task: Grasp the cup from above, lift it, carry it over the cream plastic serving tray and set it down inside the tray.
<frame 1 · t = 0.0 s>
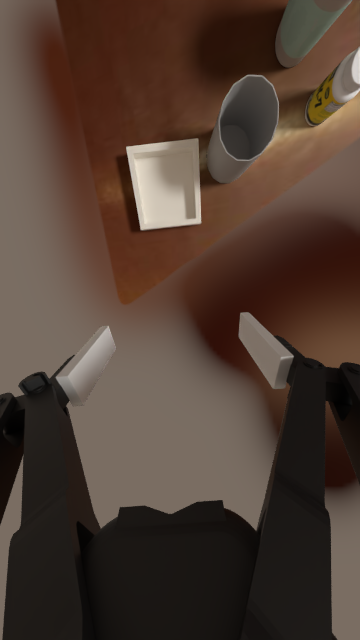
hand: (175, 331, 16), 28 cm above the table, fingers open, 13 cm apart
coffee cup: (292, 40, 25), on the table
supplement bottle: (316, 109, 29), on the table
cup: (227, 156, 31), on the table
tray: (167, 192, 33), on the table
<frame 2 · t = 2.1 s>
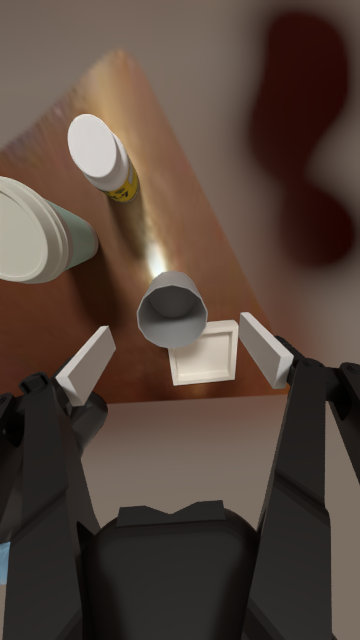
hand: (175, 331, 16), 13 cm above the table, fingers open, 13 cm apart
coffee cup: (79, 239, 24), on the table
supplement bottle: (121, 182, 21), on the table
cup: (172, 294, 28), on the table
tray: (201, 350, 33), on the table
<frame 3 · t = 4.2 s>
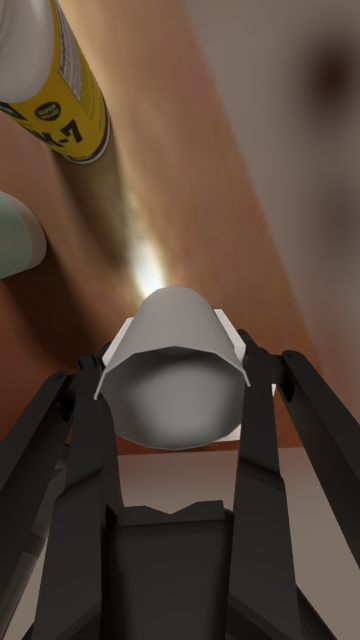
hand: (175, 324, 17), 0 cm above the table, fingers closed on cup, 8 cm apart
coffee cup: (12, 233, 14), on the table
supplement bottle: (77, 121, 11), on the table
cup: (175, 322, 18), on the table, touching gripper
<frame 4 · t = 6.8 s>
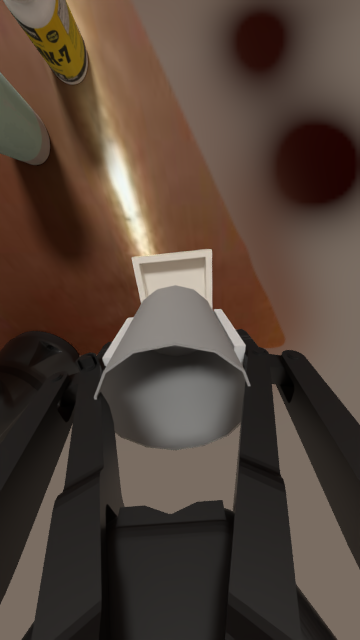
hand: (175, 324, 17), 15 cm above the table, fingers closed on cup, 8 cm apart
coffee cup: (28, 137, 21), on the table
supplement bottle: (68, 57, 18), on the table
cup: (175, 322, 18), point 14 cm above the table, touching gripper
tray: (175, 289, 31), on the table
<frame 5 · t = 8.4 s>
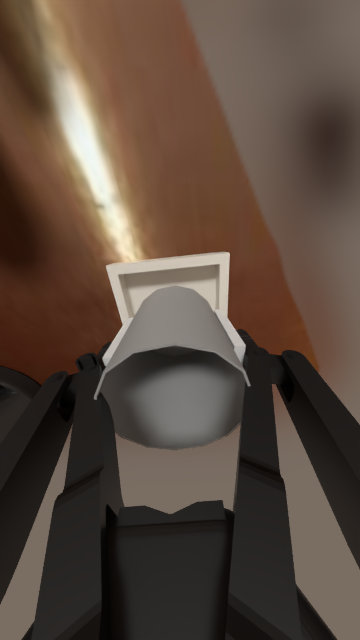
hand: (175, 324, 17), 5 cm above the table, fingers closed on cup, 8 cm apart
cup: (175, 322, 18), point 4 cm above the table, touching gripper
tray: (174, 308, 22), on the table
when the fingers open (3 cm above the table, at t = 9.8 s): cup drops 2 cm, resting on tray.
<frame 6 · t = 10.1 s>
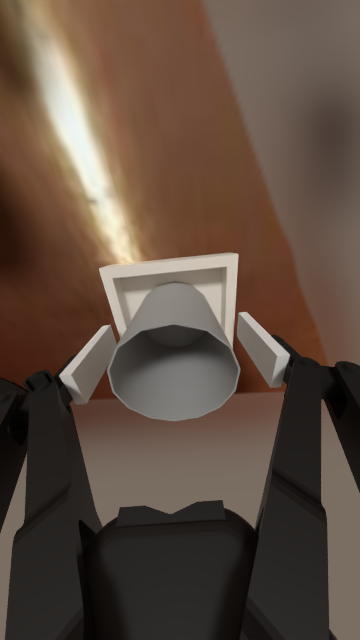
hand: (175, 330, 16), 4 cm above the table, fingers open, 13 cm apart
cup: (175, 315, 19), resting on tray
tray: (175, 314, 20), on the table
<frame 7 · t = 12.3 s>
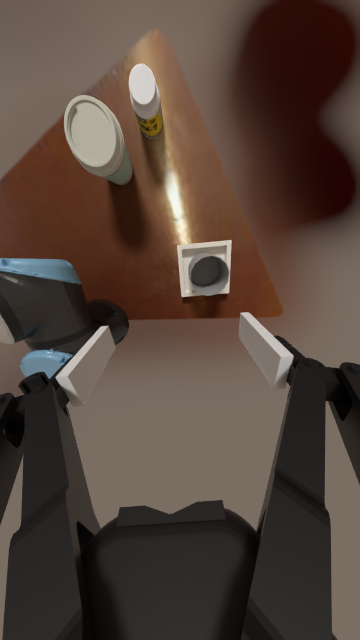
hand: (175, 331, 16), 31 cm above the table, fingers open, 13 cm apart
coffee cup: (119, 168, 34), on the table
supplement bottle: (151, 123, 31), on the table
cup: (203, 269, 43), resting on tray
tray: (203, 269, 43), on the table
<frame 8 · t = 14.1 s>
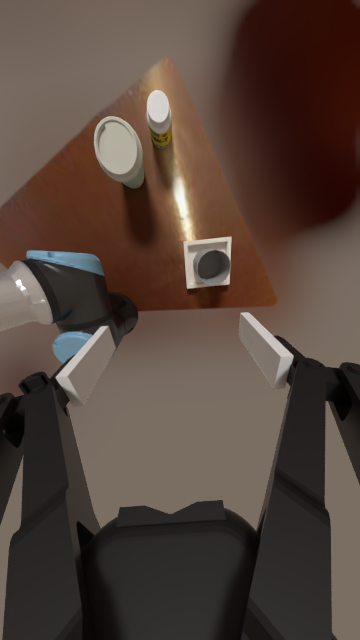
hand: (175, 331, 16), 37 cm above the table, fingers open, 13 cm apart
coffee cup: (132, 174, 39), on the table
supplement bottle: (161, 135, 36), on the table
cup: (206, 263, 48), resting on tray
tray: (206, 263, 48), on the table
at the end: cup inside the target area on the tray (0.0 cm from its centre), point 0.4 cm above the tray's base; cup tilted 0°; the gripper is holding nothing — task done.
